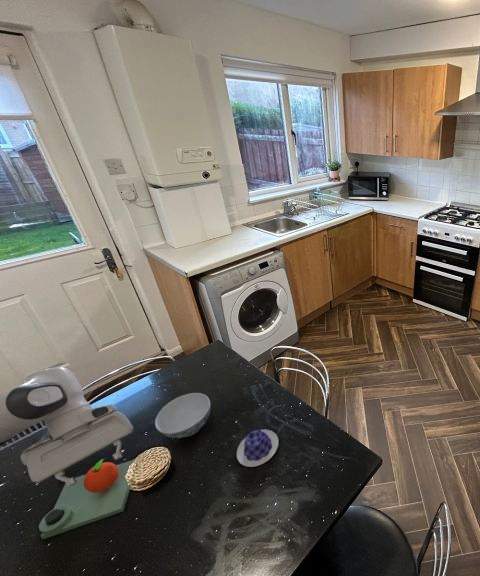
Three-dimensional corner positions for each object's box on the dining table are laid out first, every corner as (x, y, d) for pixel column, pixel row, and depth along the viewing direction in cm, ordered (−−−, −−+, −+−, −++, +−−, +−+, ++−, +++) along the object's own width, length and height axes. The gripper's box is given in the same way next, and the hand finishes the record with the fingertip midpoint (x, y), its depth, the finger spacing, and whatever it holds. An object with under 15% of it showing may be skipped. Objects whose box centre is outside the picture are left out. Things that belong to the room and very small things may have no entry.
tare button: (45, 527, 74) (42, 523, 73) (51, 514, 76) (48, 511, 76) (60, 522, 75) (57, 518, 74) (65, 510, 77) (62, 506, 77)
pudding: (235, 440, 97) (231, 430, 94) (275, 425, 101) (272, 414, 99) (239, 475, 87) (234, 464, 85) (282, 456, 92) (279, 446, 90)
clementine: (98, 473, 87) (86, 457, 83) (127, 464, 89) (117, 449, 85) (86, 502, 80) (72, 487, 77) (118, 492, 82) (106, 476, 79)
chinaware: (214, 439, 97) (207, 423, 93) (159, 456, 92) (149, 440, 88) (217, 403, 109) (211, 387, 105) (168, 416, 104) (160, 400, 101)
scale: (40, 541, 74) (33, 535, 72) (67, 483, 85) (62, 477, 84) (123, 512, 79) (118, 506, 78) (137, 461, 91) (133, 455, 89)
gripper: (12, 452, 73) (37, 505, 72) (118, 401, 86) (141, 445, 85) (22, 451, 78) (45, 501, 77) (121, 403, 91) (143, 445, 90)
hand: (96, 471), depth 81 cm, fingers open, 8 cm apart
